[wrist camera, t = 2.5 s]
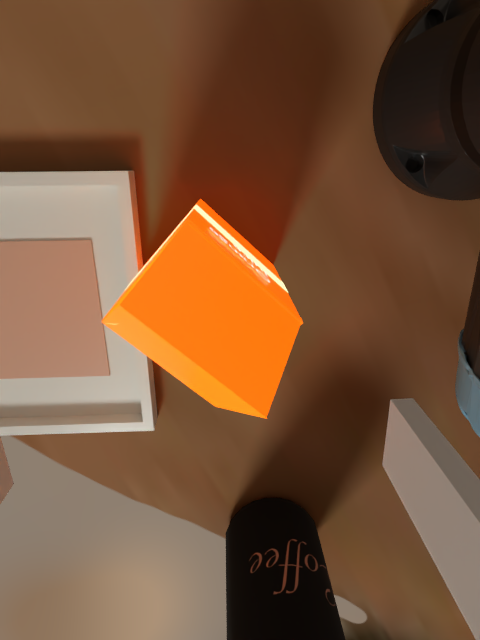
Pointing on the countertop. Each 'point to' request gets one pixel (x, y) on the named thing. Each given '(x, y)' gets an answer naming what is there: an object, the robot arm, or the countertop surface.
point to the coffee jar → (278, 576)
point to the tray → (69, 305)
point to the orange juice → (211, 314)
